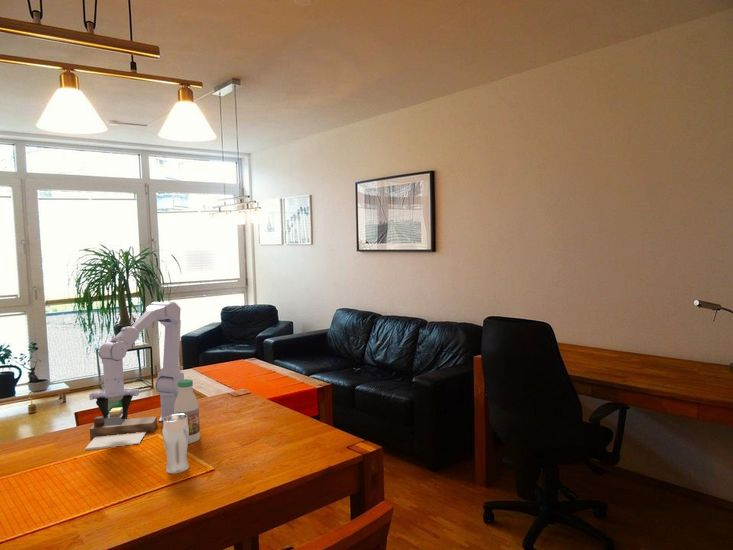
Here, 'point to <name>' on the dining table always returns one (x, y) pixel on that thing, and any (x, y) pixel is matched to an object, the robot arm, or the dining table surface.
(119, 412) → the lever cap
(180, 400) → the milk bottle
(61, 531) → the dining table surface
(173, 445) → the beer glass
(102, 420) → the body
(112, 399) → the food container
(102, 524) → the dining table surface
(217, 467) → the dining table surface
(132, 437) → the rubber mat
